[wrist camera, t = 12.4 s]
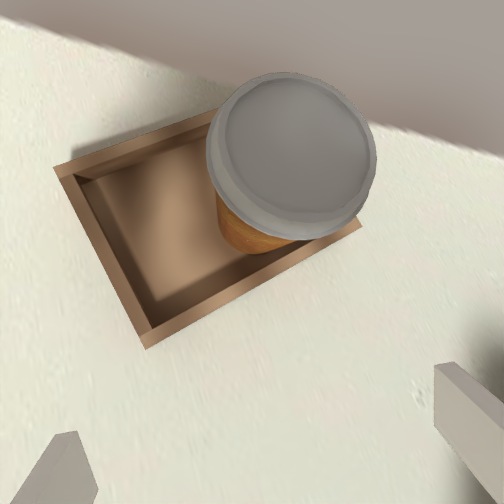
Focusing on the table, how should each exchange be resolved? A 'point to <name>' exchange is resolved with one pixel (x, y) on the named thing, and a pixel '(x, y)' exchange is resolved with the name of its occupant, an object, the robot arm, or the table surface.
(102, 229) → the trough tray
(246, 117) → the disposable coffee cup
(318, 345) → the table surface
